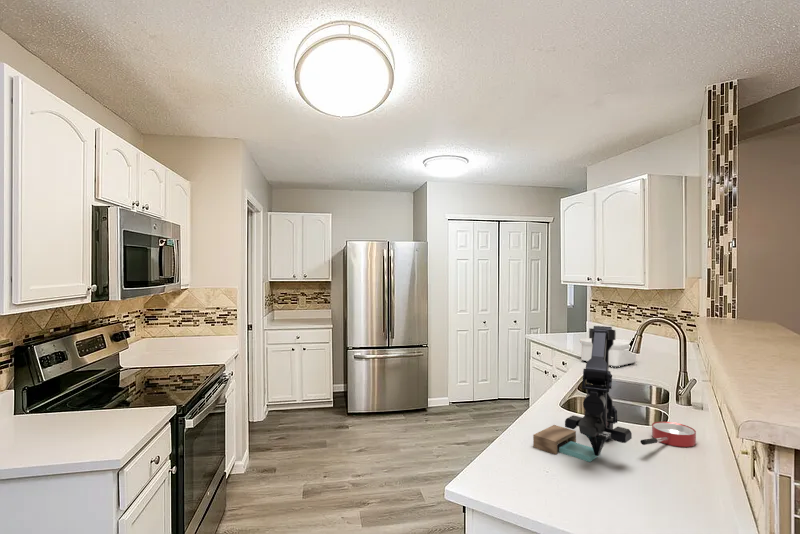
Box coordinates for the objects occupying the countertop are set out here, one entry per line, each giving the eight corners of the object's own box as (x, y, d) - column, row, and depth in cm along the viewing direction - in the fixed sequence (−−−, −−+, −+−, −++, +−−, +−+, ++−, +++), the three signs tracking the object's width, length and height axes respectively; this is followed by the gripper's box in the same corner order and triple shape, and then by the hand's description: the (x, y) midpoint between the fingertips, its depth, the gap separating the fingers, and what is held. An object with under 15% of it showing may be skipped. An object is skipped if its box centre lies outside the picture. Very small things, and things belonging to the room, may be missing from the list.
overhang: (575, 443, 148) (575, 430, 148) (555, 454, 138) (555, 441, 138) (554, 436, 154) (554, 424, 154) (533, 447, 144) (533, 434, 144)
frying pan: (676, 469, 128) (676, 448, 128) (629, 456, 137) (628, 436, 137) (699, 440, 151) (699, 422, 151) (657, 430, 160) (657, 413, 160)
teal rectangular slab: (600, 456, 139) (600, 449, 139) (589, 463, 133) (589, 457, 133) (570, 446, 146) (570, 441, 146) (559, 453, 140) (559, 447, 140)
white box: (646, 365, 273) (646, 342, 273) (622, 371, 257) (622, 346, 257) (596, 356, 301) (596, 335, 301) (571, 361, 285) (571, 339, 285)
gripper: (556, 404, 137) (556, 453, 137) (618, 419, 123) (618, 473, 123) (572, 397, 145) (572, 444, 144) (632, 410, 131) (632, 462, 131)
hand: (597, 455), depth 135 cm, fingers closed
